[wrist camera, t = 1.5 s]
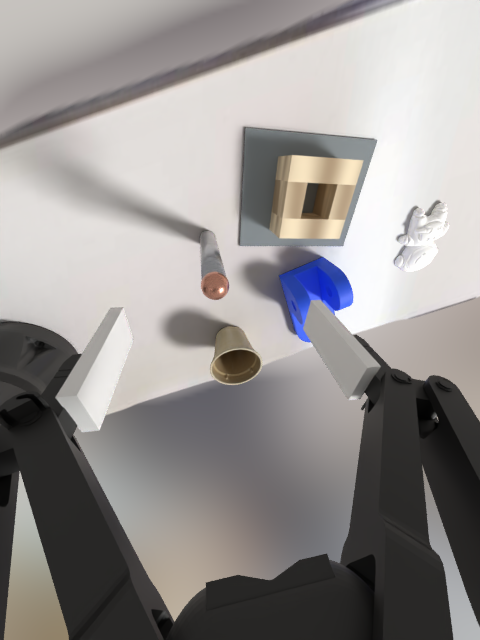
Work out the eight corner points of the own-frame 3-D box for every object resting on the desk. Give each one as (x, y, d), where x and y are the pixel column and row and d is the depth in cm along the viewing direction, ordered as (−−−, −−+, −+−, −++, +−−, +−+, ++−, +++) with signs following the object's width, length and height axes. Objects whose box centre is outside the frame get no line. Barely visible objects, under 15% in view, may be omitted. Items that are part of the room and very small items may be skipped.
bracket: (278, 275, 38) (297, 300, 31) (322, 256, 38) (352, 278, 31) (297, 341, 49) (315, 371, 42) (332, 327, 48) (355, 355, 41)
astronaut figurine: (454, 198, 36) (473, 201, 33) (426, 265, 43) (440, 272, 41) (405, 207, 35) (421, 211, 33) (385, 274, 43) (396, 280, 40)
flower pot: (223, 311, 41) (228, 341, 34) (261, 329, 45) (272, 358, 38) (199, 344, 45) (200, 377, 38) (236, 358, 49) (243, 389, 42)
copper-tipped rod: (199, 247, 33) (202, 305, 19) (198, 229, 32) (200, 279, 18) (216, 247, 34) (230, 304, 20) (216, 229, 32) (231, 278, 18)
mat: (239, 245, 34) (239, 245, 34) (245, 128, 26) (245, 127, 26) (341, 245, 37) (342, 246, 37) (375, 140, 29) (377, 140, 28)
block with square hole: (269, 229, 33) (279, 238, 29) (278, 156, 28) (291, 155, 24) (322, 230, 34) (339, 238, 30) (340, 161, 29) (363, 160, 25)
